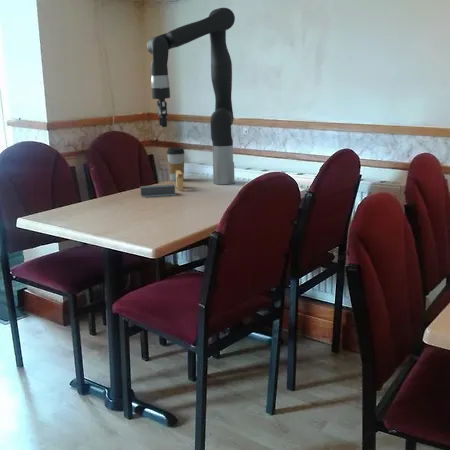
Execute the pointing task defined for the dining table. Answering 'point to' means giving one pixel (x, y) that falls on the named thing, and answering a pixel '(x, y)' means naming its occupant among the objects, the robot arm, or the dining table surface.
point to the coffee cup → (175, 161)
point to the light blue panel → (158, 195)
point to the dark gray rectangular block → (157, 190)
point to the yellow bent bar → (179, 180)
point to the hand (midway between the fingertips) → (163, 126)
